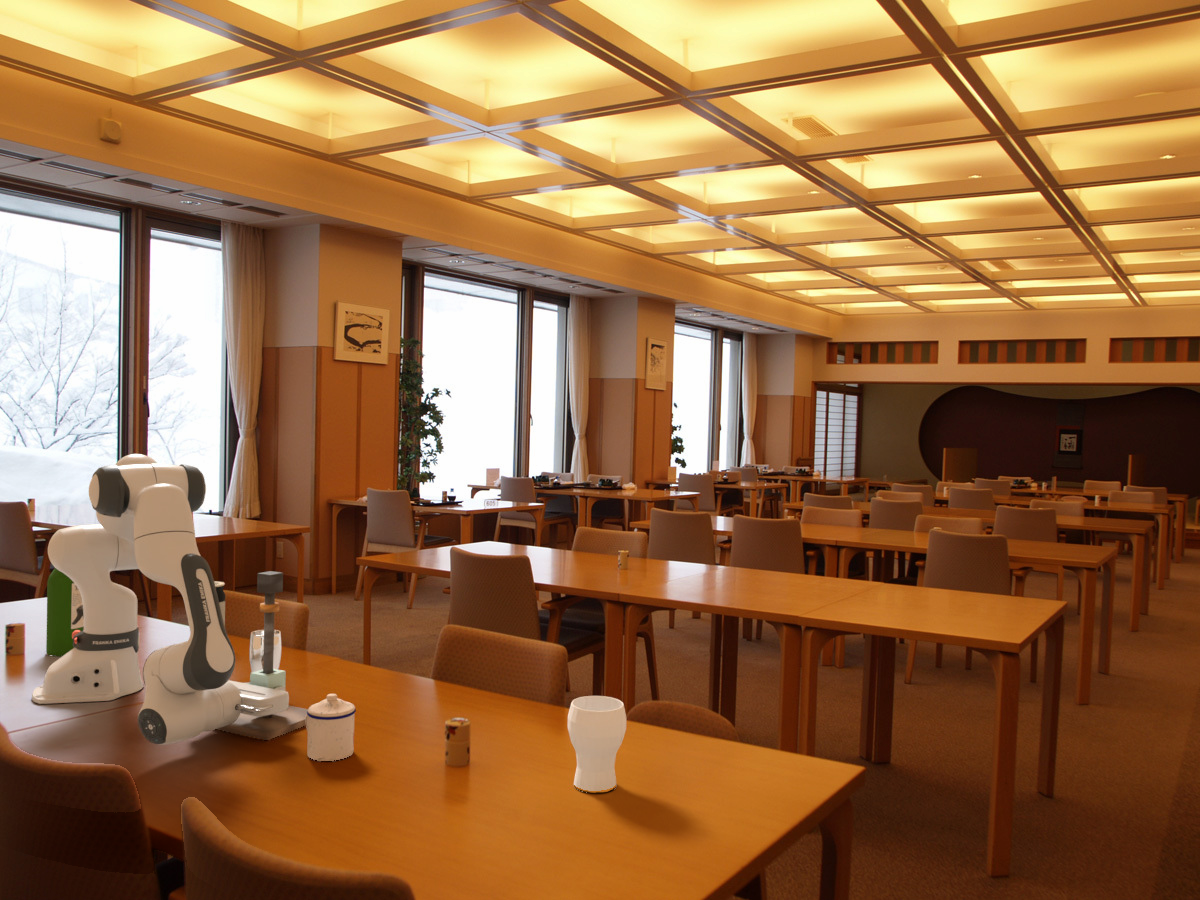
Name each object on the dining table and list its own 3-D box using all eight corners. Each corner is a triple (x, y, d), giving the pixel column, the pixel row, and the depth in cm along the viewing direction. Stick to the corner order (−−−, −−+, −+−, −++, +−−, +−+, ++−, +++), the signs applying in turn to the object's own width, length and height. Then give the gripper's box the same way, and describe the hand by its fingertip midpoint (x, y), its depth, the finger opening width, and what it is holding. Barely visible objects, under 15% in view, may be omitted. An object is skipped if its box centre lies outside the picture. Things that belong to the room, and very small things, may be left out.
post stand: (267, 741, 184) (270, 582, 183) (209, 728, 191) (212, 574, 190) (322, 719, 198) (326, 571, 198) (266, 707, 205) (269, 564, 204)
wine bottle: (72, 657, 242) (74, 534, 241) (38, 656, 242) (40, 533, 242) (91, 649, 251) (93, 530, 250) (59, 647, 251) (61, 529, 251)
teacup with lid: (364, 753, 179) (366, 694, 179) (326, 766, 171) (327, 704, 171) (325, 739, 186) (326, 682, 186) (286, 751, 178) (288, 692, 178)
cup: (604, 802, 159) (607, 716, 159) (554, 788, 165) (556, 704, 164) (635, 783, 168) (637, 701, 168) (586, 770, 174) (588, 691, 173)
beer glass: (285, 693, 216) (286, 629, 216) (272, 701, 209) (273, 636, 209) (257, 691, 217) (258, 628, 217) (242, 700, 210) (244, 634, 210)
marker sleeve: (267, 714, 191) (268, 676, 191) (249, 710, 193) (250, 673, 193) (284, 708, 196) (285, 670, 195) (267, 704, 198) (268, 667, 198)
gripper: (258, 696, 178) (309, 679, 191) (183, 681, 187) (236, 666, 199) (258, 728, 178) (308, 709, 191) (182, 712, 187) (235, 694, 199)
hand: (270, 687), depth 195 cm, fingers closed on marker sleeve, 5 cm apart
